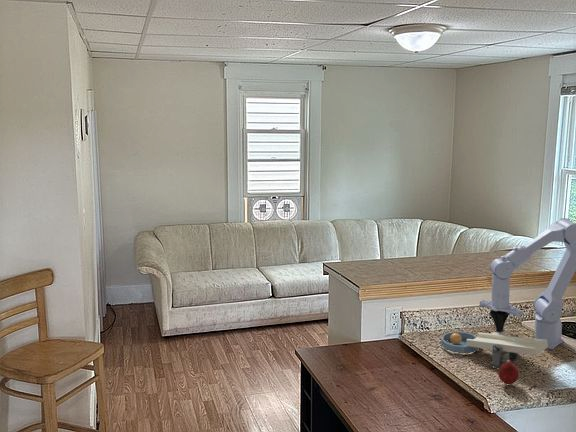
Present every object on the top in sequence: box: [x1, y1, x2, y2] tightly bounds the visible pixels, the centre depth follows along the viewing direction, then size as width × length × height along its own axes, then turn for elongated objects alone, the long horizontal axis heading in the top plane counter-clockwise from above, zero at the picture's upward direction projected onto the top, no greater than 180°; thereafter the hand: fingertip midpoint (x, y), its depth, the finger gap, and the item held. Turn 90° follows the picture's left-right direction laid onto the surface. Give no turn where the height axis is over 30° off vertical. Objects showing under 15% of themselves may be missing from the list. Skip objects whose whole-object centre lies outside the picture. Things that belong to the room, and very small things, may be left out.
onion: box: [497, 360, 520, 385], centre depth 172 cm, size 6×6×8 cm
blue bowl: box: [440, 330, 479, 353], centre depth 200 cm, size 12×12×3 cm
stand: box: [489, 334, 522, 368], centre depth 186 cm, size 14×4×7 cm, turn 131°
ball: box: [450, 333, 462, 345], centre depth 201 cm, size 4×4×4 cm
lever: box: [466, 328, 548, 356], centre depth 189 cm, size 17×24×3 cm
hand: (499, 330), depth 199 cm, fingers closed, pressing on lever
